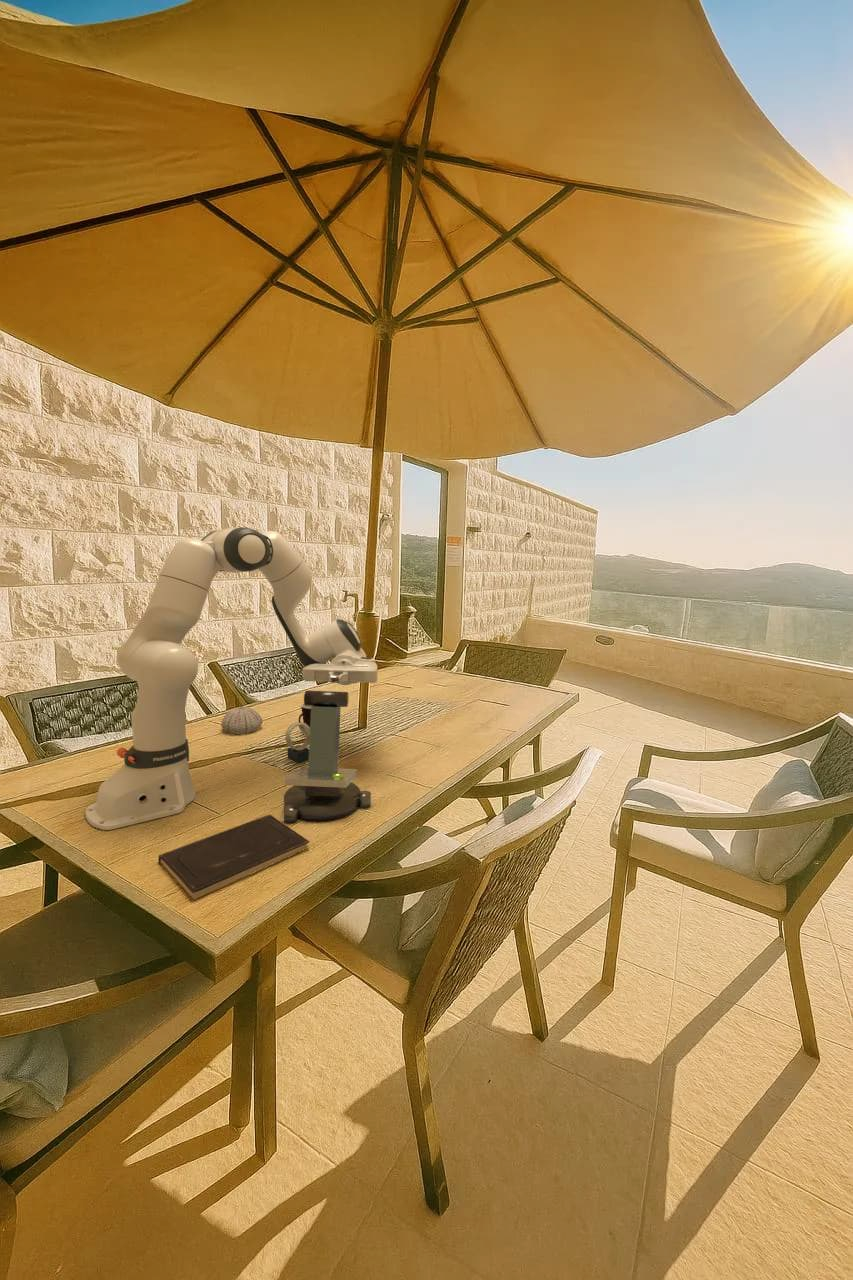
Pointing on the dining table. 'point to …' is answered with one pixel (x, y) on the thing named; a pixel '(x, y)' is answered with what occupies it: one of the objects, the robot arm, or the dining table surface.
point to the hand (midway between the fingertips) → (335, 679)
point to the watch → (300, 751)
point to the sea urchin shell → (241, 720)
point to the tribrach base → (323, 803)
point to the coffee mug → (305, 714)
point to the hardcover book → (231, 854)
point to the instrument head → (323, 743)
